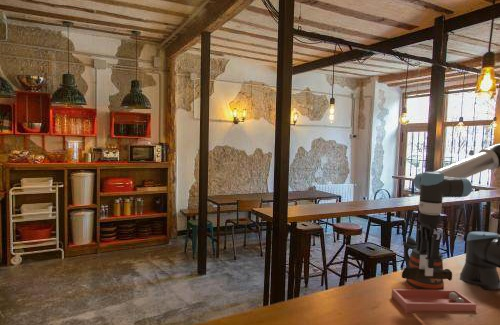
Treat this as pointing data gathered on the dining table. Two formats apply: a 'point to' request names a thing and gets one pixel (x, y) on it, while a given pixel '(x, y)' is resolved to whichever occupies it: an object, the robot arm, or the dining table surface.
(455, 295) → the light grey ball
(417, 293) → the pink tray
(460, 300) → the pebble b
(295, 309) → the dining table surface
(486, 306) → the dining table surface
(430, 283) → the beer stein
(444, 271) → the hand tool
